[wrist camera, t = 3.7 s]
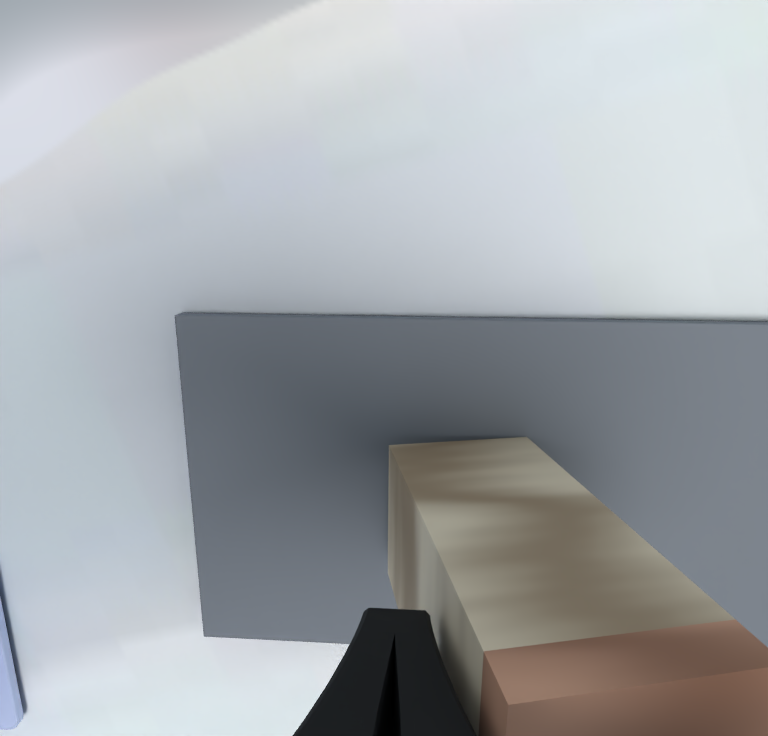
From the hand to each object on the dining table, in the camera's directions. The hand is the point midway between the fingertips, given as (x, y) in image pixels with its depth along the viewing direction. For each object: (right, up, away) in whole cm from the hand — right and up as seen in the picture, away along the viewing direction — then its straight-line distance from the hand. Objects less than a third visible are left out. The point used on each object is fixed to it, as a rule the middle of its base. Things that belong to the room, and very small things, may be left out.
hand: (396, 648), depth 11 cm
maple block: (+2, +2, +6) cm, 7 cm away
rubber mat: (+4, +2, +7) cm, 8 cm away
